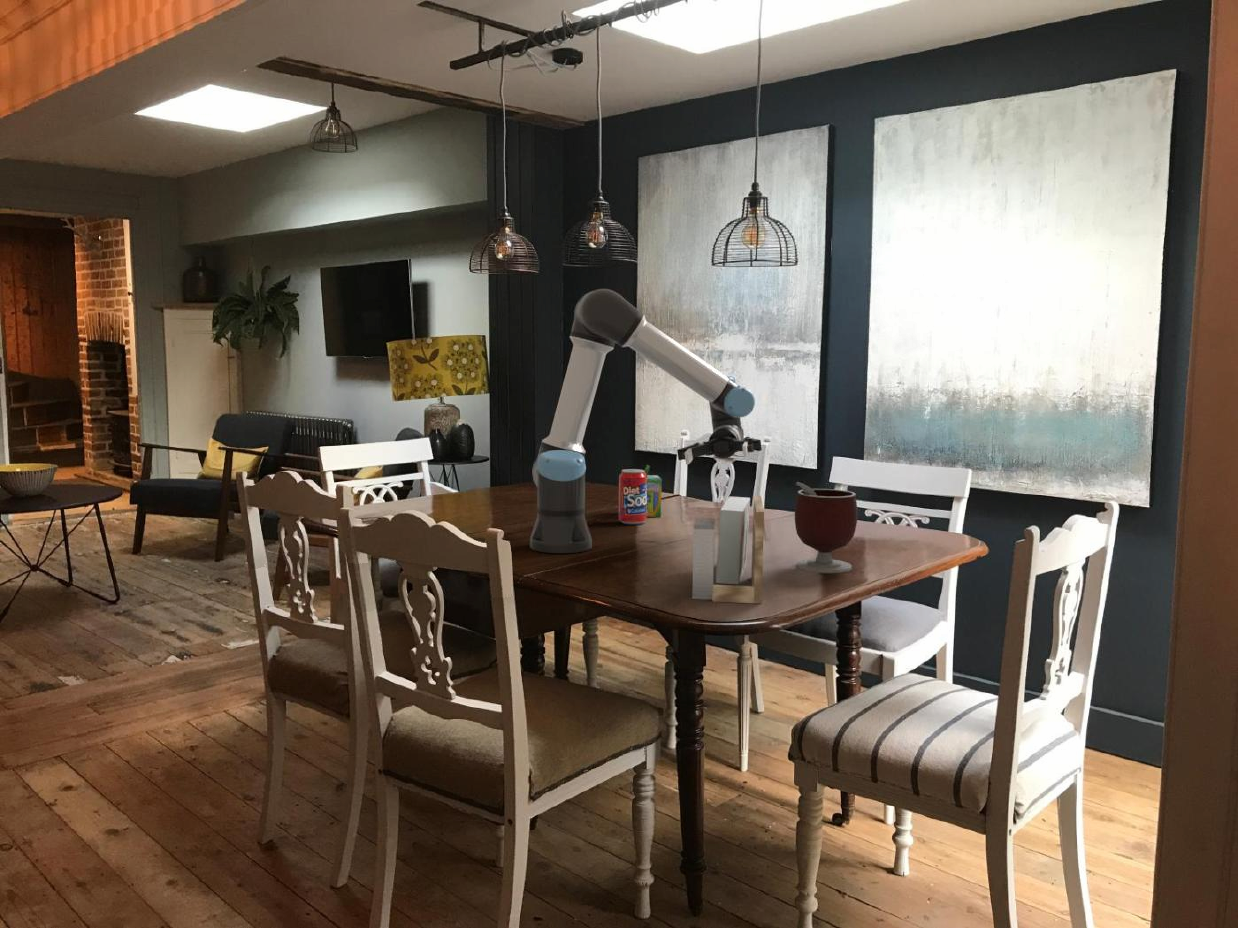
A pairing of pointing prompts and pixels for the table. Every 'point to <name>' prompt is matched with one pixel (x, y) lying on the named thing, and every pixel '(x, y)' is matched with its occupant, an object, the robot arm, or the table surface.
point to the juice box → (653, 494)
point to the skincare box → (732, 540)
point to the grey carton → (703, 558)
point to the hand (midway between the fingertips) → (715, 455)
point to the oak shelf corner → (755, 591)
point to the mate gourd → (825, 526)
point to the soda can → (632, 496)
